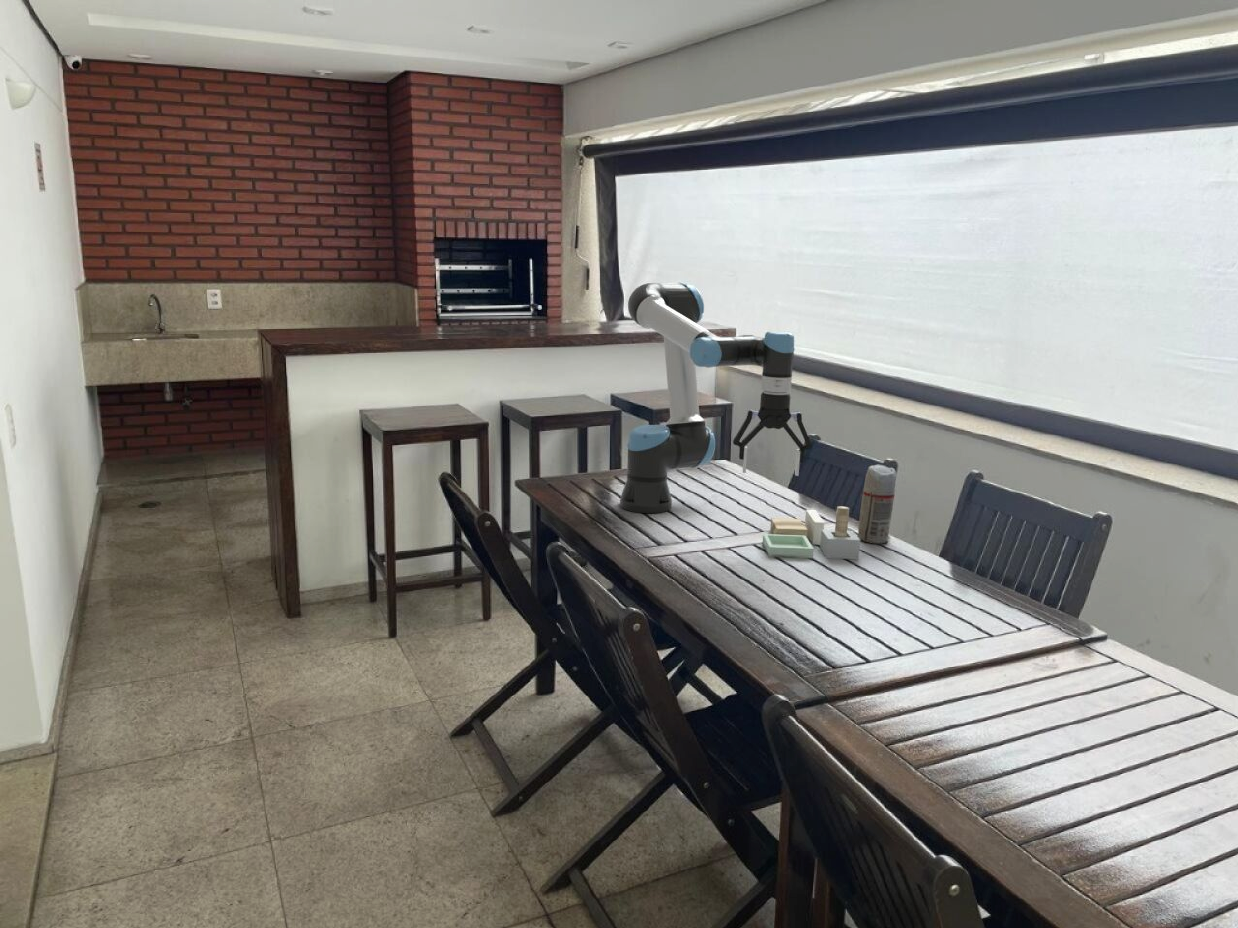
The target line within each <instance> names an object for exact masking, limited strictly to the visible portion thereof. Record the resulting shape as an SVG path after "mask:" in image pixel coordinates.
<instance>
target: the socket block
mask: <svg viewBox="0 0 1238 928" xmlns="http://www.w3.org/2000/svg"><path fill="white" fill-rule="evenodd" d="M834 536H835V529H824V530H822V531H821V543H820V545H819V549H820V550H821V552H822V553H823V554H824V556H825V559H836V560H837V559H840V560H842V559H843V560H845V559H846V560H859V557H860V550H861V549H860V547H861V539H859V538H858V537H857V536H858V534H856V532H854V530H849V529H847V537H834Z"/></svg>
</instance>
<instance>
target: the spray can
mask: <svg viewBox="0 0 1238 928" xmlns="http://www.w3.org/2000/svg"><path fill="white" fill-rule="evenodd" d="M897 476H898V475H897V472H896V470H895V469H894V468H893V467H887V466H886V465H883V464H879V463H878V464H874V465H870V466H869V467H868V469H867V471H866V475H865V479H864V485H863V490H862V496H861V503H860V512H859V519H858V533H857V537H858V538H859V539H860V541H862V542H865V543H871V544H885V543H887V542H888V541H887V540H888V538H889V533H890V526H891V520H892V513H893V507H894V501H895V500H894V499H895V495H896V494H895V492H896V481H897Z"/></svg>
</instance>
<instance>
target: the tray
mask: <svg viewBox="0 0 1238 928" xmlns="http://www.w3.org/2000/svg"><path fill="white" fill-rule="evenodd" d="M762 545H763V547H764V549H765V552H766V553H767V556H768V557H770V558H792V559H793V558H794V559H795V558H796V559H814V552H815V551H814V550H815V549H814V547H813V544H812V543H811V541H810V539H809V538H808V536H807V537H806V536H805V535H777V534H771V533H763V534H762Z"/></svg>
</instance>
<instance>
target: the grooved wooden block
mask: <svg viewBox="0 0 1238 928" xmlns="http://www.w3.org/2000/svg"><path fill="white" fill-rule="evenodd" d="M769 528H770V529H769V531H770V534H777V535H805V536H806V537H807V538H808V536H807V532H808V530H807V528H806V527H805V522H803V521H802V519H801V518H785V517H784V518H782V517H781V518H779V517H778V518H777V517H771V518H770V527H769Z"/></svg>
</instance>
